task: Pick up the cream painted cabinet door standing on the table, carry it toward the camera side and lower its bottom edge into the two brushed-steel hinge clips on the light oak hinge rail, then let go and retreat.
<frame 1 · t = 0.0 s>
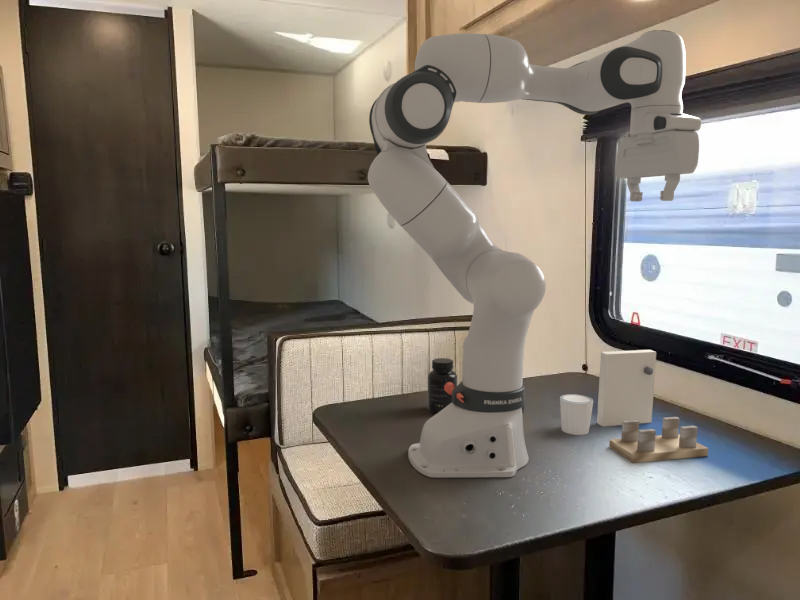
hand: (650, 201, 116), 48 cm above the table, fingers open, 8 cm apart
hinge rail: (657, 451, 120), on the table
shot glass: (574, 431, 131), on the table
door: (624, 422, 136), on the table
supplement bottle: (442, 411, 143), on the table
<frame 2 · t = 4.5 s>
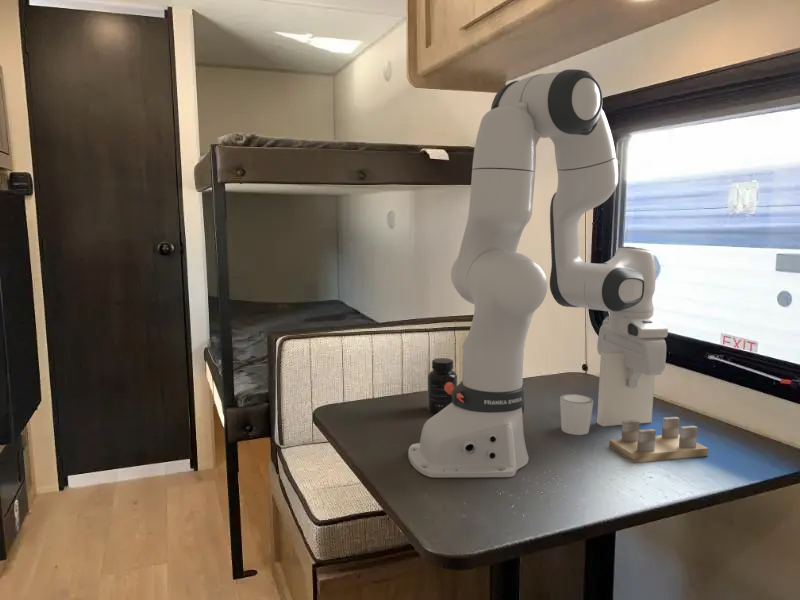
hand: (626, 384, 135), 9 cm above the table, fingers closed on door, 2 cm apart
door: (624, 422, 136), on the table, touching gripper
everything else where it was.
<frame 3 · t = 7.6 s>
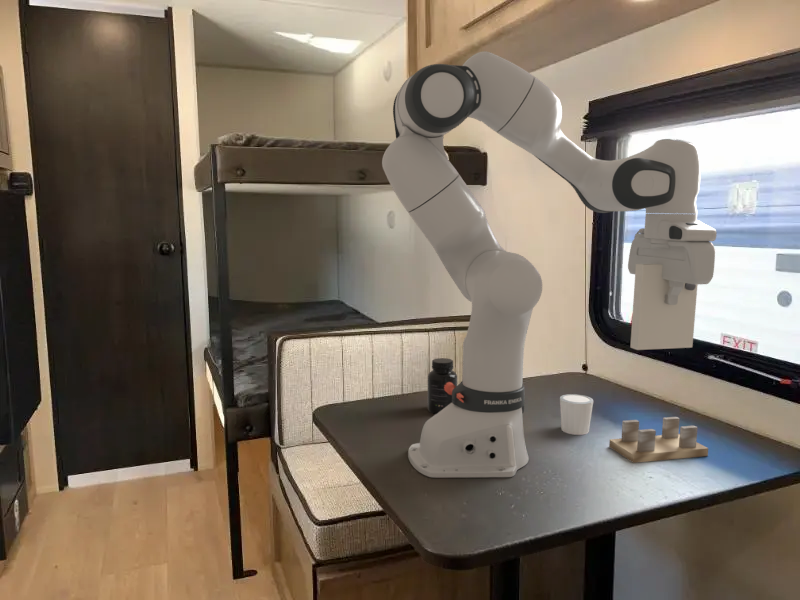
hand: (664, 303, 117), 29 cm above the table, fingers closed on door, 2 cm apart
door: (661, 347, 118), point 20 cm above the table, touching gripper
everything else where it was.
when the fingers open (11 cm above the table, at t = 10.8 s): door stays where it is, resting on hinge rail.
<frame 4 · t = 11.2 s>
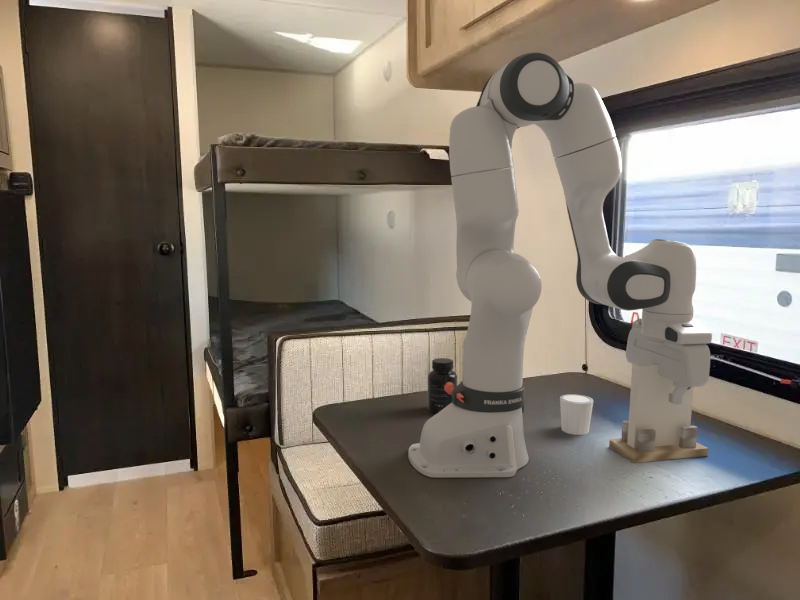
hand: (661, 397, 118), 11 cm above the table, fingers open, 7 cm apart
door: (658, 443, 120), point 1 cm above the table, touching hinge rail
everything else where it was.
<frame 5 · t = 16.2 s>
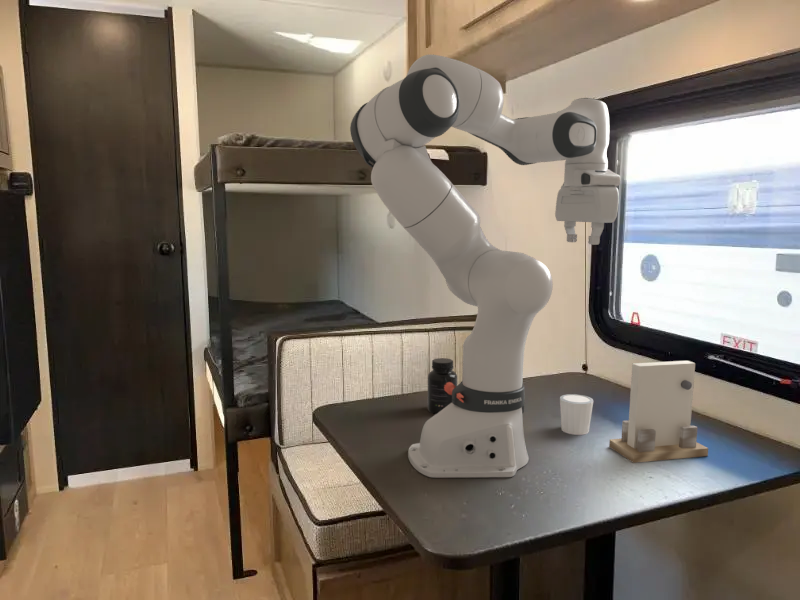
hand: (582, 243, 134), 39 cm above the table, fingers open, 8 cm apart
nothing on the table moved.
at the end: door 0.0 cm off-centre on the hinge rail, point 1.5 cm above the hinge rail's base; door tilted 0°; the gripper is holding nothing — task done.
